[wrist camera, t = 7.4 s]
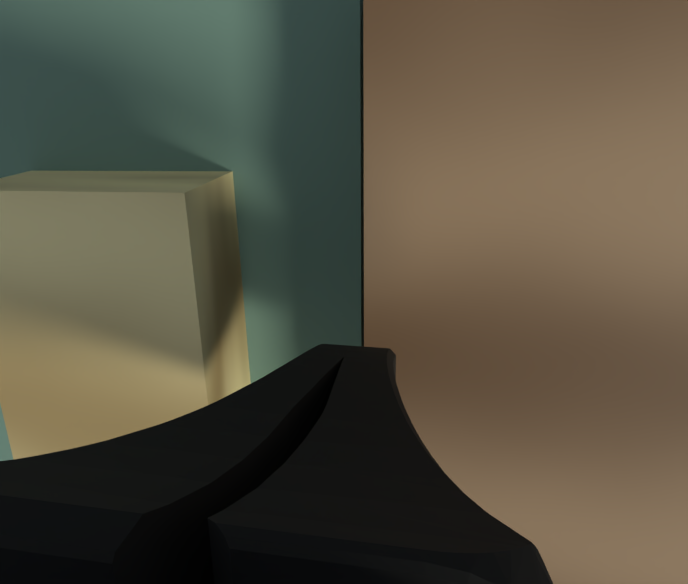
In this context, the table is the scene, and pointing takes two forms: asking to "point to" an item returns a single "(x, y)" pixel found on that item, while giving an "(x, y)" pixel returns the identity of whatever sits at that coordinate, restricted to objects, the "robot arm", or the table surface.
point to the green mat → (212, 134)
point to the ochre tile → (116, 303)
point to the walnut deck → (538, 264)
